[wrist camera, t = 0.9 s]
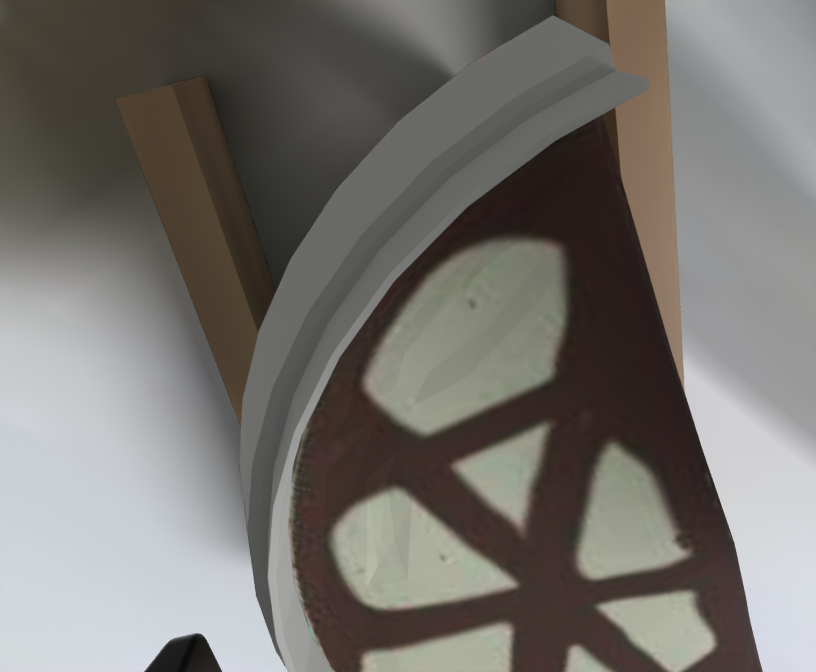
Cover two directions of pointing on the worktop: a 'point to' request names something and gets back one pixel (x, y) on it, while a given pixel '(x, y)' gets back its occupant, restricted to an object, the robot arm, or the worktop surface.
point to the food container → (485, 404)
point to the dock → (236, 235)
